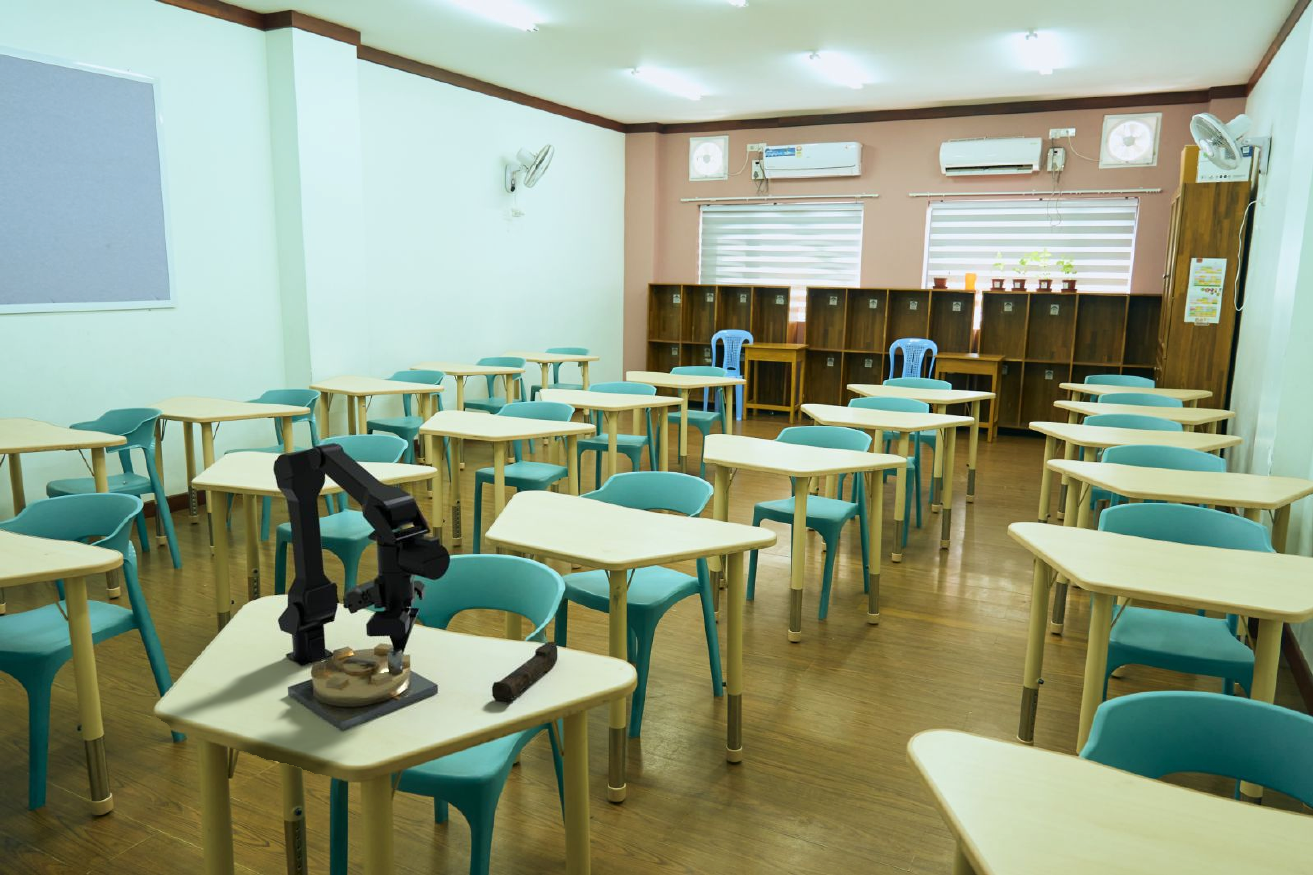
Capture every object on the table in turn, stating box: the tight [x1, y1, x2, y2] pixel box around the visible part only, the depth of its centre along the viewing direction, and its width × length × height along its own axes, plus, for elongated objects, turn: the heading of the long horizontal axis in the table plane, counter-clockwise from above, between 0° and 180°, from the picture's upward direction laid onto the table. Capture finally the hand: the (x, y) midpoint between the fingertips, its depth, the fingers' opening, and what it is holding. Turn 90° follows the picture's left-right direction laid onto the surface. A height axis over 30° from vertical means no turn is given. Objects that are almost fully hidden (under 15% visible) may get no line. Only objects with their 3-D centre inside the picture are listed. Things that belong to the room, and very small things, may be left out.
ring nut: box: [310, 642, 412, 707], centre depth 152 cm, size 16×16×7 cm
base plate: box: [287, 670, 439, 732], centre depth 153 cm, size 18×18×2 cm
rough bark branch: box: [491, 641, 558, 704], centre depth 158 cm, size 19×4×5 cm, turn 154°
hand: (399, 654), depth 152 cm, fingers closed
